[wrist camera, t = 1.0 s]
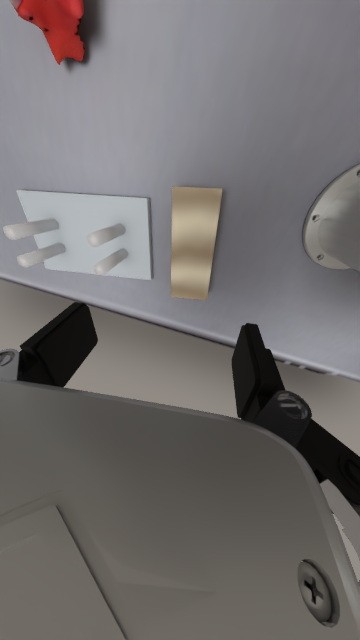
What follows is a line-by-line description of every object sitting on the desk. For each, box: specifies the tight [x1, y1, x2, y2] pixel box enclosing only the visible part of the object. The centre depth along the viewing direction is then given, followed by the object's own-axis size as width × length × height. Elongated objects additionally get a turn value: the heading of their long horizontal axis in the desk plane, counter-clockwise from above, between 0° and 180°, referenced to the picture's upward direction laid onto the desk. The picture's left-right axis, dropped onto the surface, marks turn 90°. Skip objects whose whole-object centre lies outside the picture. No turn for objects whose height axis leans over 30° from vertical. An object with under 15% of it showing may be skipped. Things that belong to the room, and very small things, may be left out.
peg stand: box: [3, 190, 153, 280], centre depth 27 cm, size 20×12×9 cm, turn 87°
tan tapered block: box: [171, 186, 223, 301], centre depth 28 cm, size 15×6×4 cm, turn 178°
